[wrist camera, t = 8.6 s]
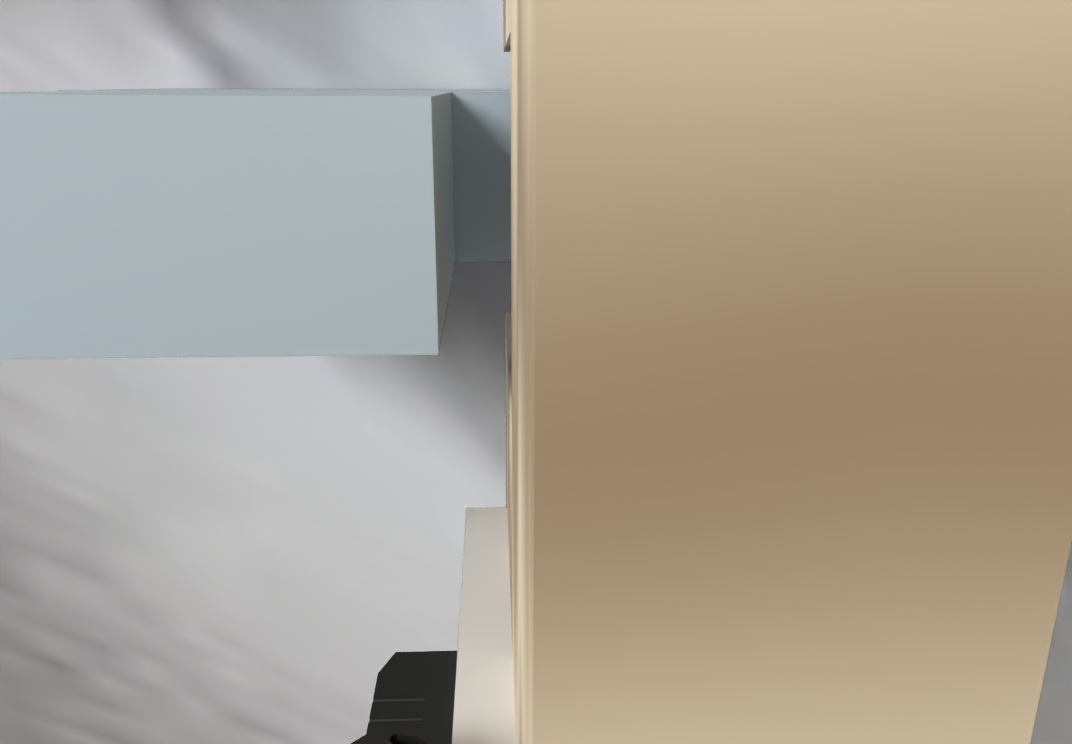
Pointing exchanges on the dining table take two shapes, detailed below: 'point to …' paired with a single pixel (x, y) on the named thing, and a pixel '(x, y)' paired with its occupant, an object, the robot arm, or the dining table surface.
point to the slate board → (244, 219)
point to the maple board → (787, 368)
